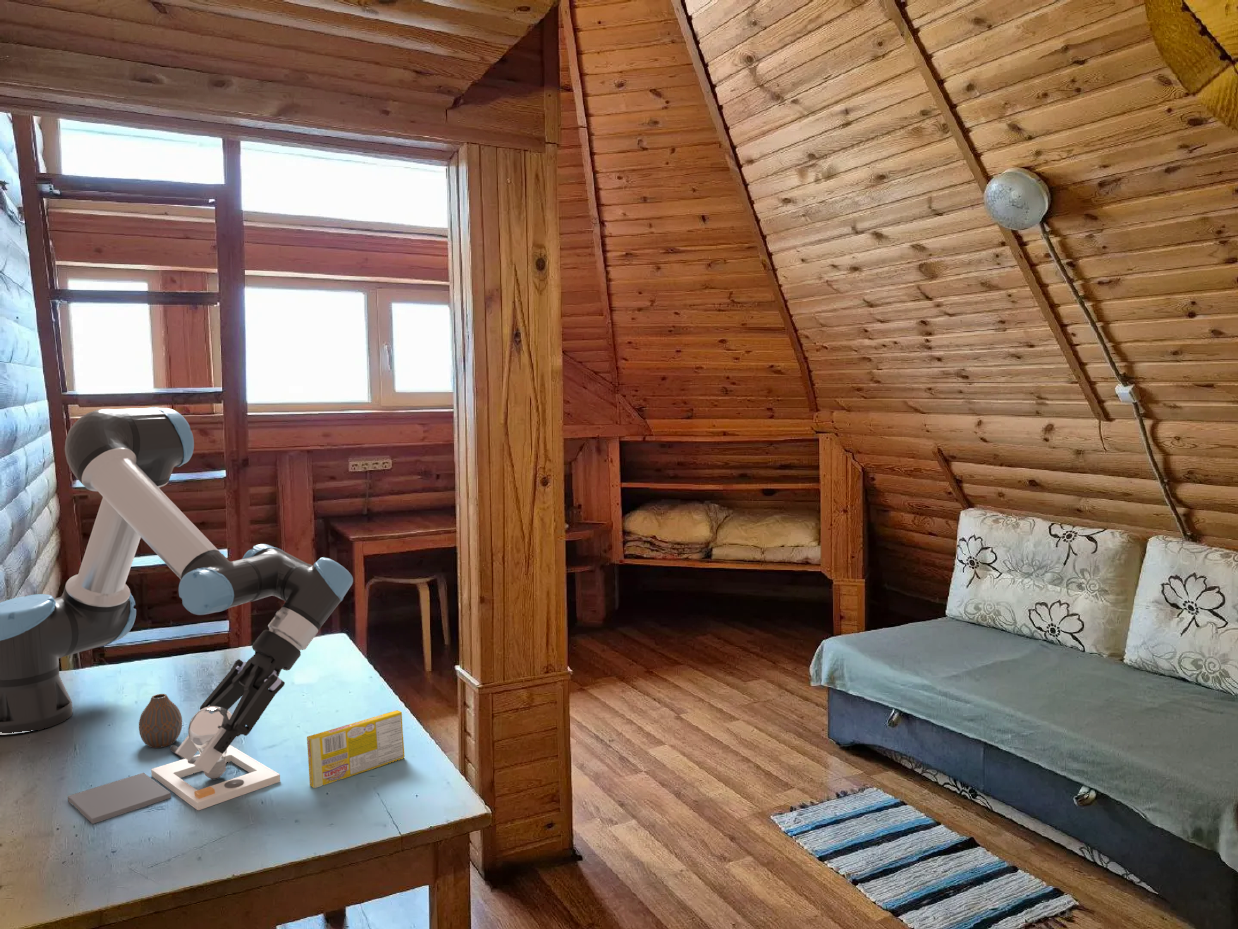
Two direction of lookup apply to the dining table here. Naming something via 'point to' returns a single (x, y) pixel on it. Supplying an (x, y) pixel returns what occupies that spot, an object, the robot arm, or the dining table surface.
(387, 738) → the candy box
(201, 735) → the light bulb
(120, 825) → the dining table surface
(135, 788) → the felt pad
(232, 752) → the white square frame
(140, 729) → the vase
